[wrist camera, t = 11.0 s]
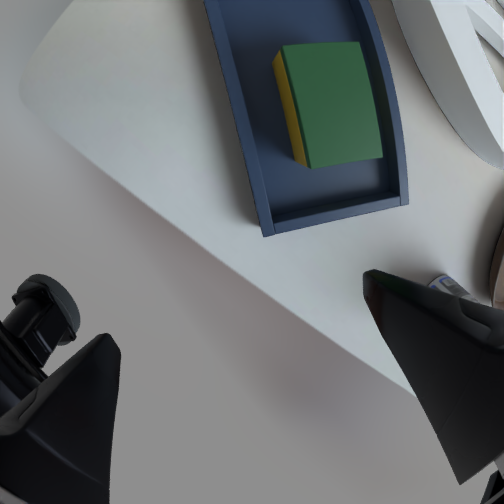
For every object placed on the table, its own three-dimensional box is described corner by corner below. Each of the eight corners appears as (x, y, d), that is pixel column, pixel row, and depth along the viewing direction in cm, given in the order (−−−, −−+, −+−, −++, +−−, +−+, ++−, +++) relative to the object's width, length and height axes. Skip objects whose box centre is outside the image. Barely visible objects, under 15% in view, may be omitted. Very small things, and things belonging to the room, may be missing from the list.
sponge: (294, 161, 18) (310, 169, 14) (271, 62, 15) (281, 45, 11) (355, 151, 17) (383, 157, 14) (335, 56, 15) (359, 41, 11)
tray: (260, 227, 20) (263, 237, 18) (193, -35, 11) (190, -47, 9) (396, 197, 19) (409, 204, 18) (334, -45, 10) (341, -56, 9)
